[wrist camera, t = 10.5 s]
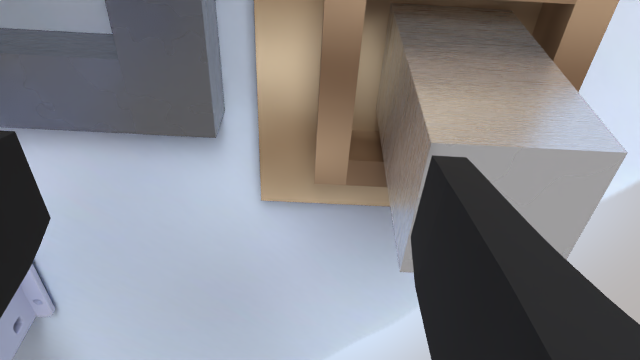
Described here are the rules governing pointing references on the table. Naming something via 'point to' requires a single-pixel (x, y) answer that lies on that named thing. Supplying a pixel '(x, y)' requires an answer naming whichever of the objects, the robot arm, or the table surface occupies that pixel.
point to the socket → (118, 73)
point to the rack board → (365, 86)
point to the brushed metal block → (488, 120)
